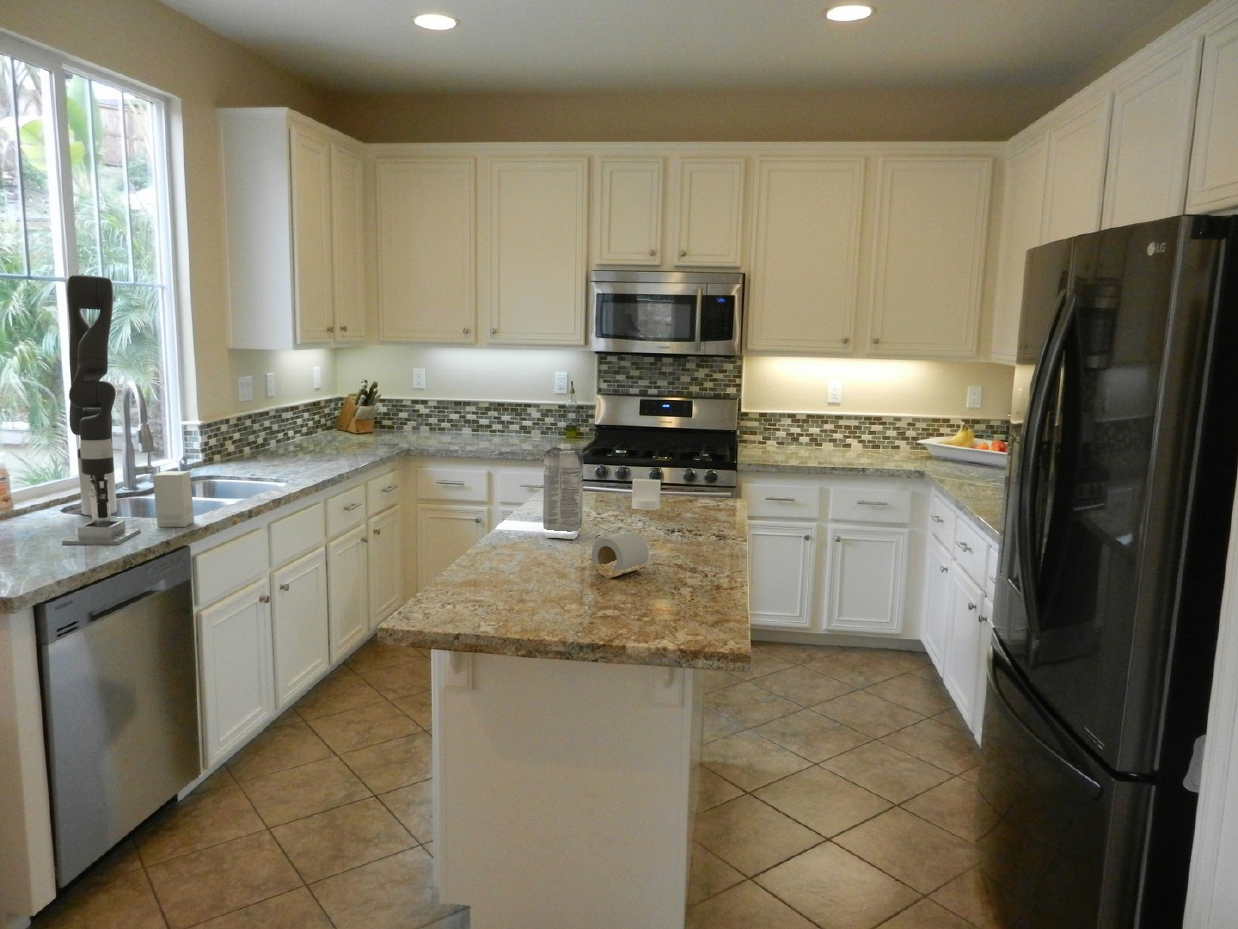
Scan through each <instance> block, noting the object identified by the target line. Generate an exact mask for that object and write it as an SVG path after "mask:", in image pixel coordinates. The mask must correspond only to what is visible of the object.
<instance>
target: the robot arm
mask: <svg viewBox="0 0 1238 929" xmlns="http://www.w3.org/2000/svg"><path fill="white" fill-rule="evenodd" d="M66 282H67V283H66V298H67V310H68V320H69V347H68V348H69V350H68V351H69V353H68V354H69V356H68V357H69V374H70V375H69V377H70V388H69V392H68V398H69V401H70V402H69V403H70V404H69V405H70V406H69V428H70V431H71V432H72V434H73V435H74V436H75V435H76V436H80V446H79V448H78V450H77V461H78V462H77V463H78V464H77V465H78V474H79V476H78V477H79V489H80V490H79V491H80V502H81V515H85V516H92V512H91V499H90V496H89V491H93V496H94V497H95V498H96V503H97V510H98V517H99V518H107V517H108V513H107V504H108V501H110V514H111V515H112V514H114V513H116V512H117V510H118V509H117V508H118V507H117V493H116V492H117V490H116V479H115V478H116V476H115V475H116V474H115V463H114V462H115V461H114V449H113V446H114V445H113V416H112V415H113V414H112V411H113V407H114V404H115V399H116V395H117V394H116V389H115V386H114V385H113V384H112V383H111V382H110V381H102V380H101V379H102V378H103V377H105V376H106V375H107V373H108V369H109V367H108V366H109V363H108V362H109V361H108V360H109V357H108V356H109V351H108V350H109V349H108V348H109V339H110V337H109V336H110V332H111V325H112V319H113V318H112V317H113V310H114V297H115V295H114V284H113V281H112V280H111V279H110V277H106V276H96V275H85V274H71V275H69V276H68V278H67V280H66ZM83 309H84V310H95V311H96V310H97V311H99V313H98V316H97V318H96V320H95V322H93V324H92V325H91V326H90V324H89V322H88V321H87V319H86V317H85V314H84V313H83ZM108 490H110V494H109V499H108ZM99 497H104V498H103V499H100V498H99Z"/></svg>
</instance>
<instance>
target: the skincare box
mask: <svg viewBox="0 0 1238 929" xmlns="http://www.w3.org/2000/svg"><path fill="white" fill-rule="evenodd" d="M152 481H153V491H154V492H153V493H154V502H155V513H156V523H157V527H158V528H180V527H181V528H185V527H188V526H190V525H191V524H193V523H194V522H195V515H194V503H193V494H192V493H193V492H192V490H193V489H192V479H191V471H190V470H189V471H188V470H187V471H186V470H185V471H184V470H183V471H180V470H178V471H176V470H175V471H174V470H173V471H171V470H170V471H169V470H168V471H167V470H162V471H160V472H157V473H156V474H153V475H152Z"/></svg>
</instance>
